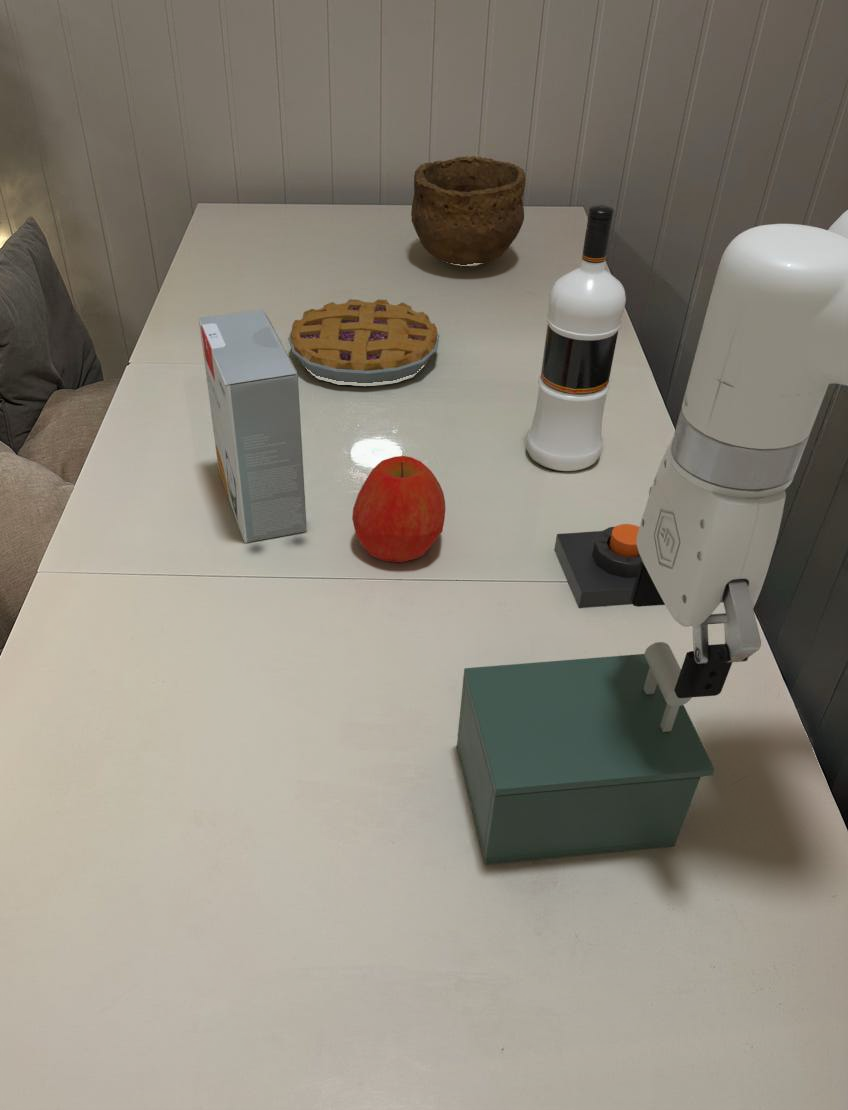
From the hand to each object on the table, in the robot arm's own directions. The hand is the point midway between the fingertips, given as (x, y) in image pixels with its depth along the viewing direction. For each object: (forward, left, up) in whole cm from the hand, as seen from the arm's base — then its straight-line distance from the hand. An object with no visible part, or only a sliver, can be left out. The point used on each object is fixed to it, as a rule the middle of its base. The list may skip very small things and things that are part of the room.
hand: (672, 646), depth 70 cm
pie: (+14, -81, -17) cm, 84 cm away
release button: (-8, -28, -13) cm, 32 cm away
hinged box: (+6, 0, -17) cm, 18 cm away
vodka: (-8, -52, -17) cm, 55 cm away
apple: (+15, -36, -17) cm, 42 cm away
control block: (-8, -28, -17) cm, 33 cm away
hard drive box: (+30, -46, -17) cm, 57 cm away
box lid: (+6, 0, -8) cm, 10 cm away
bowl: (-7, -114, -17) cm, 115 cm away
